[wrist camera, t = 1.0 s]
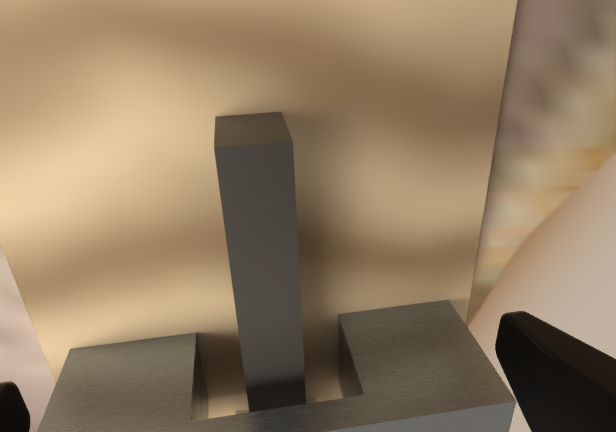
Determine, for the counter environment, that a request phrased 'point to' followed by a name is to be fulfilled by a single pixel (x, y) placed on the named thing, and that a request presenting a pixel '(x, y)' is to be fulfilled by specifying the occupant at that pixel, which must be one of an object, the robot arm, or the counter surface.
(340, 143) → the mounting board
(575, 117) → the counter surface
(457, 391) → the grey boxy piece
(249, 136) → the grey and white bar
